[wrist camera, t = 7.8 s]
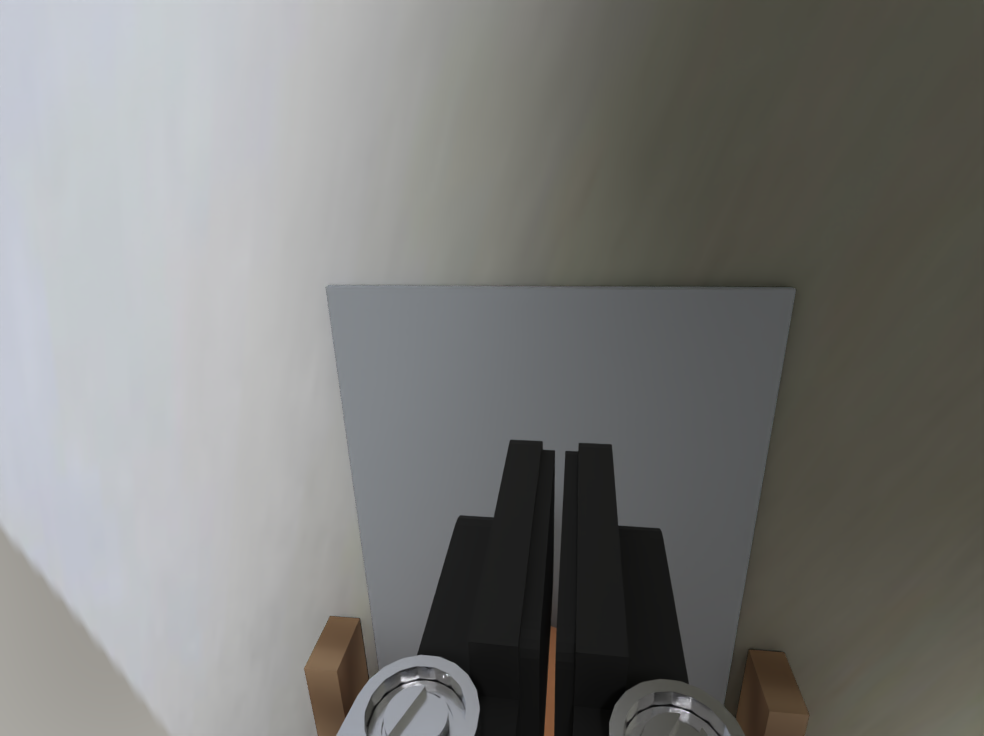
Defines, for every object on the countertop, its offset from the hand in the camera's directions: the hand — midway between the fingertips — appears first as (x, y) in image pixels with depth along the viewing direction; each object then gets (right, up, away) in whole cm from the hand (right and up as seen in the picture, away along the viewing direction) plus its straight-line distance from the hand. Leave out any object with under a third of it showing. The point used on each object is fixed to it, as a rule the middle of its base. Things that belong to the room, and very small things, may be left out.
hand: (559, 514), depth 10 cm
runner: (+1, -8, +9) cm, 12 cm away
